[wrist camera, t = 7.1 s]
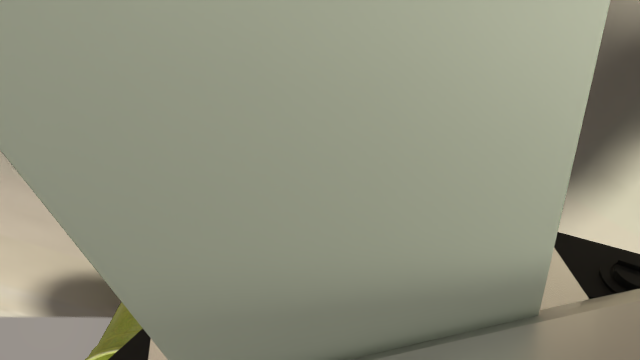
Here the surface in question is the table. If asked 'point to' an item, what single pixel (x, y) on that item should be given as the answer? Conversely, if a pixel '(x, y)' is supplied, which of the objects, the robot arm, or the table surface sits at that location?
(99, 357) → the plant pot
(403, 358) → the robot arm
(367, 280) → the door panel
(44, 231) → the table surface
